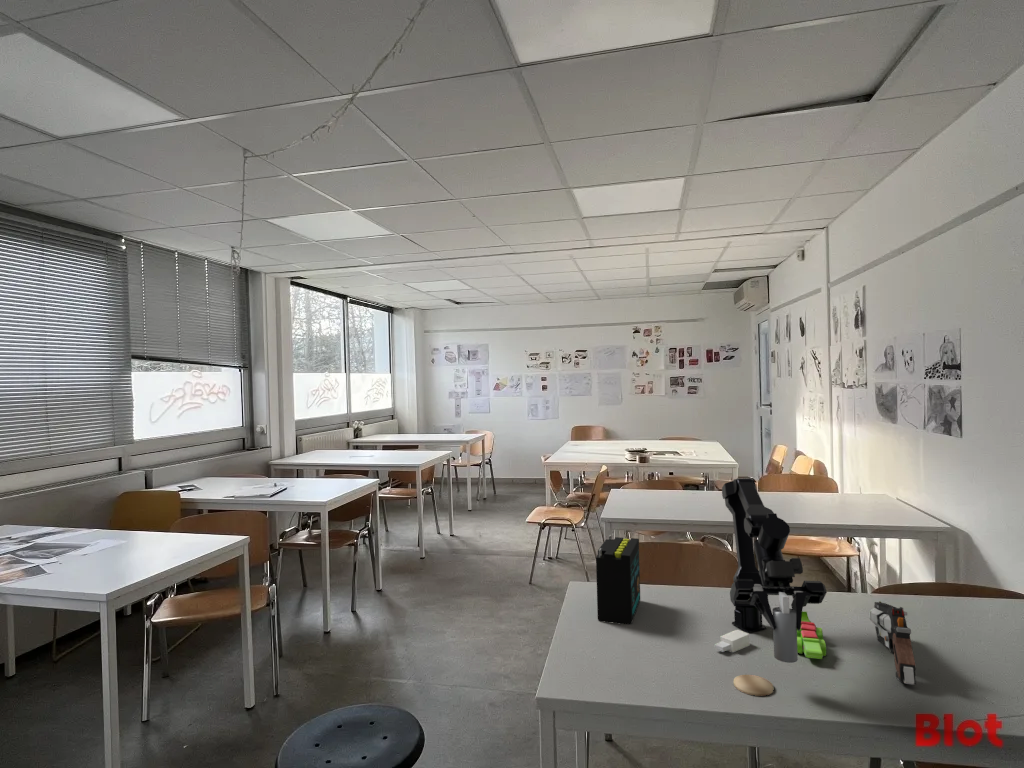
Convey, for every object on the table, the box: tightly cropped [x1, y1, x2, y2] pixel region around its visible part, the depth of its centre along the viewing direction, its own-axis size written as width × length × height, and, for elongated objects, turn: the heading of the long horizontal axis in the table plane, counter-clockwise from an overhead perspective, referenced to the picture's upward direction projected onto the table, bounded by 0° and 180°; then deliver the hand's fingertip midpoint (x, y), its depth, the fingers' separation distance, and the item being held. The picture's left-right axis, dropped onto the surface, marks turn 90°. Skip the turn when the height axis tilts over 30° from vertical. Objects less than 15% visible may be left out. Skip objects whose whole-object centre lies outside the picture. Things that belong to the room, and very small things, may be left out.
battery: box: [595, 534, 641, 625], centre depth 171 cm, size 19×10×20 cm, turn 160°
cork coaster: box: [733, 674, 775, 697], centre depth 125 cm, size 8×8×1 cm
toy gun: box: [868, 600, 917, 686], centre depth 136 cm, size 5×28×15 cm, turn 158°
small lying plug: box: [713, 629, 751, 653], centre depth 144 cm, size 10×4×3 cm, turn 123°
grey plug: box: [772, 592, 799, 664], centre depth 124 cm, size 5×5×14 cm
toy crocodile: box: [797, 610, 827, 660], centre depth 143 cm, size 20×7×6 cm, turn 157°
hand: (786, 629), depth 123 cm, fingers closed on grey plug, 5 cm apart
